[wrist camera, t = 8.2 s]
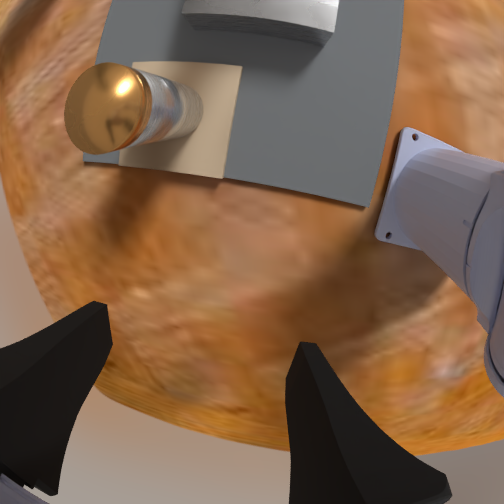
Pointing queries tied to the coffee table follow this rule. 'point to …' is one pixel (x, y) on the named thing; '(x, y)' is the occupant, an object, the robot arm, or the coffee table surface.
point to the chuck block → (266, 18)
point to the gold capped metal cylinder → (128, 109)
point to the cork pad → (209, 129)
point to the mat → (284, 91)
